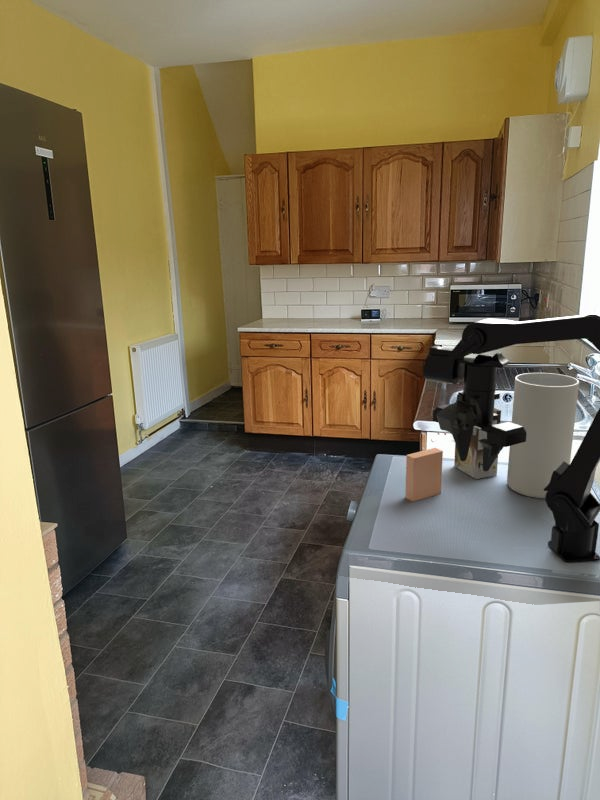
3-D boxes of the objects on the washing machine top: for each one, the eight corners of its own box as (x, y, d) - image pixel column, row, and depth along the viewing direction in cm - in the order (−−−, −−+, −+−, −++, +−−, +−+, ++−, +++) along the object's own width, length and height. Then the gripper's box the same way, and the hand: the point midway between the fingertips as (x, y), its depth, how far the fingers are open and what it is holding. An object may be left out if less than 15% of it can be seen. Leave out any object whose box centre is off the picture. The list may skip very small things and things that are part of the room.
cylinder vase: (494, 483, 131) (502, 377, 124) (532, 472, 136) (542, 370, 130) (540, 504, 120) (551, 389, 113) (579, 491, 126) (592, 381, 119)
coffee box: (498, 475, 135) (503, 410, 131) (475, 479, 133) (480, 414, 129) (473, 462, 143) (477, 400, 139) (452, 466, 141) (455, 403, 137)
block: (440, 493, 127) (442, 451, 124) (412, 501, 123) (413, 458, 120) (432, 489, 129) (434, 447, 126) (404, 497, 125) (405, 454, 122)
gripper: (412, 383, 110) (410, 458, 115) (485, 406, 95) (479, 492, 99) (456, 375, 115) (452, 448, 120) (532, 396, 100) (524, 479, 104)
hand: (474, 465), depth 110 cm, fingers open, 6 cm apart
